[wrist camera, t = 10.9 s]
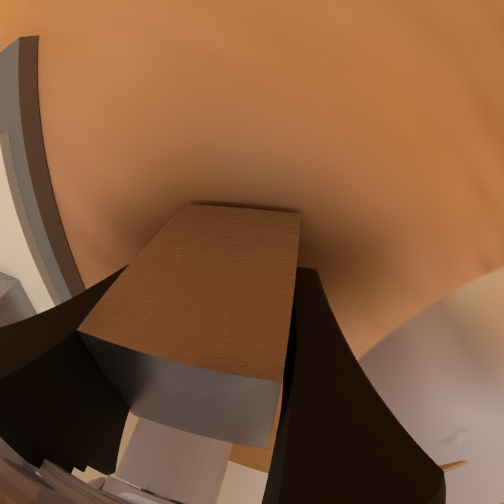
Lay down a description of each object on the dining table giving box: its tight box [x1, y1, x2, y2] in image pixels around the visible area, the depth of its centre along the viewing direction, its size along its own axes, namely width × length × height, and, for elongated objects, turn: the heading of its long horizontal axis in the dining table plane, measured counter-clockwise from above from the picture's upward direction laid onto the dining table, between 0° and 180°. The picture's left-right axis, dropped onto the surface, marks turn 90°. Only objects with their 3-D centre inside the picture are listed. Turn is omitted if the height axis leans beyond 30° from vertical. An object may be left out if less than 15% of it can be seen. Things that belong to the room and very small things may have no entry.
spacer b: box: [77, 204, 301, 449], centre depth 8 cm, size 4×4×6 cm
